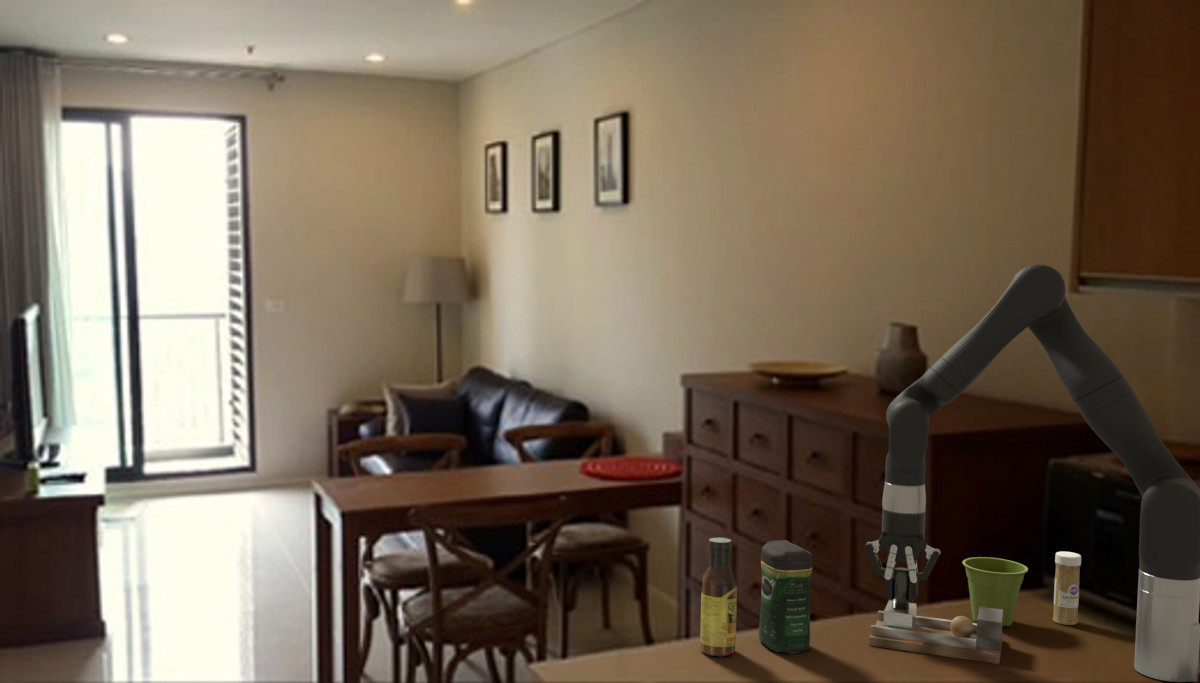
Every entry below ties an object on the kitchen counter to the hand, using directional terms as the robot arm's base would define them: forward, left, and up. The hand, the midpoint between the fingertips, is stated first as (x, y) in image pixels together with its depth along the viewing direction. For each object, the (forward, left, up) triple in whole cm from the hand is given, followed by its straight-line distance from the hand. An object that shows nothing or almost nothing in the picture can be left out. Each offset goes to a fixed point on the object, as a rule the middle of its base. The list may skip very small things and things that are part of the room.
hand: (900, 599), depth 197 cm
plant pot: (-16, -17, -7) cm, 24 cm away
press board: (-7, 0, -7) cm, 10 cm away
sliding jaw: (0, 0, -5) cm, 5 cm away
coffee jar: (+18, +13, -7) cm, 24 cm away
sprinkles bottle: (-29, -23, -7) cm, 37 cm away
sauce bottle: (+28, +21, -7) cm, 36 cm away
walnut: (-11, 0, -4) cm, 11 cm away
